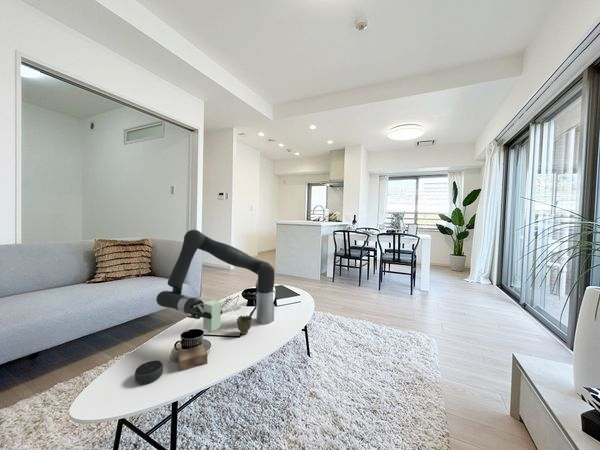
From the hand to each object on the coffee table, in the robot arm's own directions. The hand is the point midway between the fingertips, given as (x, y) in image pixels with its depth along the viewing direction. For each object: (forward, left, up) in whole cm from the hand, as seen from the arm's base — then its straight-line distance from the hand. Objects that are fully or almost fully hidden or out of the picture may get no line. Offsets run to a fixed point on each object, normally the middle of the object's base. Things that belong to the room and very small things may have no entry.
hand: (216, 314), depth 103 cm
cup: (-17, -13, -18) cm, 28 cm away
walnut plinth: (+9, -1, -18) cm, 20 cm away
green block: (+1, -2, -6) cm, 7 cm away
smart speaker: (+24, +2, -18) cm, 30 cm away
